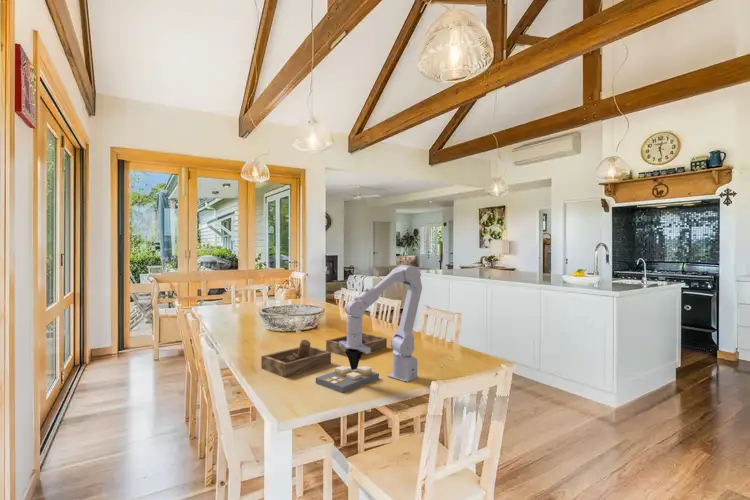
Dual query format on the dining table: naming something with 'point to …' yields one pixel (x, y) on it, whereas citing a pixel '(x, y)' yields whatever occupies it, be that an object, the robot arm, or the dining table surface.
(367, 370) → the button
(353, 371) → the button
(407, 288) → the robot arm
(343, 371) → the button
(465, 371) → the dining table surface
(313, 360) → the trays
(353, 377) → the button
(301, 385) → the dining table surface
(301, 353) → the wooden block set
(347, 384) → the board
